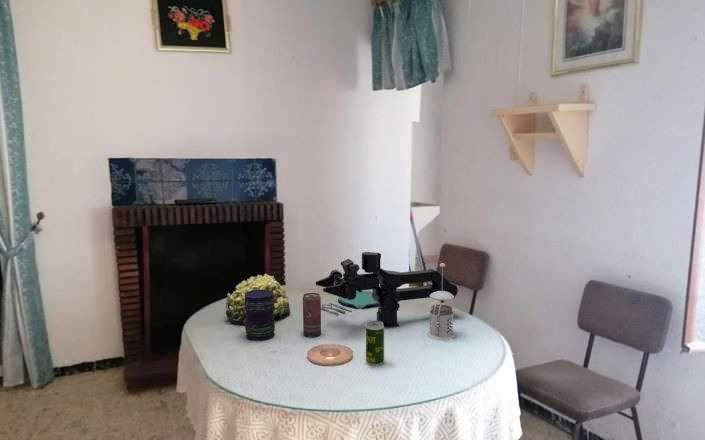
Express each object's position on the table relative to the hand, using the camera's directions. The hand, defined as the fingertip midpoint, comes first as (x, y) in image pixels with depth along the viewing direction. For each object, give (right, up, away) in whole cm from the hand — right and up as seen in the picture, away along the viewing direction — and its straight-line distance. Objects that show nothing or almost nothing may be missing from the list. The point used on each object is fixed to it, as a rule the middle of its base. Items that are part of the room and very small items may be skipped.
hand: (319, 286), depth 169 cm
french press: (+41, -17, -1) cm, 44 cm away
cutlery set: (+11, -13, +36) cm, 40 cm away
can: (-2, -17, +1) cm, 17 cm away
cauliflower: (-25, -14, +22) cm, 36 cm away
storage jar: (-20, -17, 0) cm, 26 cm away
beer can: (+18, -20, -22) cm, 35 cm away
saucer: (+4, -19, -17) cm, 26 cm away
